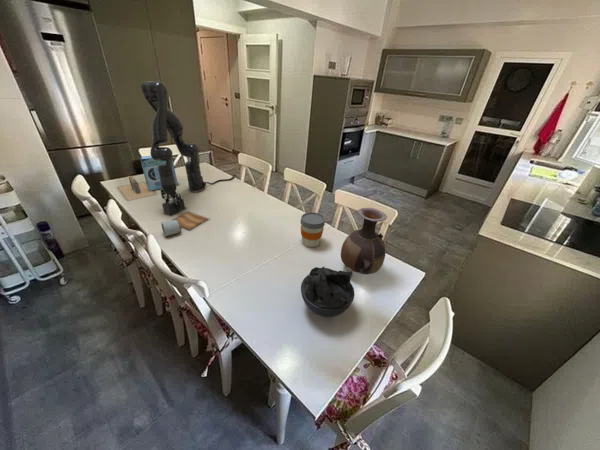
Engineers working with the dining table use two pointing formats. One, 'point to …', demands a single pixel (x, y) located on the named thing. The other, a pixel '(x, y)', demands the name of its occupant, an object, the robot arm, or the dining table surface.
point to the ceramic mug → (171, 227)
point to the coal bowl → (327, 291)
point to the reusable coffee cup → (312, 228)
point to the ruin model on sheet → (135, 189)
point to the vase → (365, 244)
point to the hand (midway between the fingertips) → (173, 207)
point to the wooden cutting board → (190, 220)
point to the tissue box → (172, 207)
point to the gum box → (153, 172)
